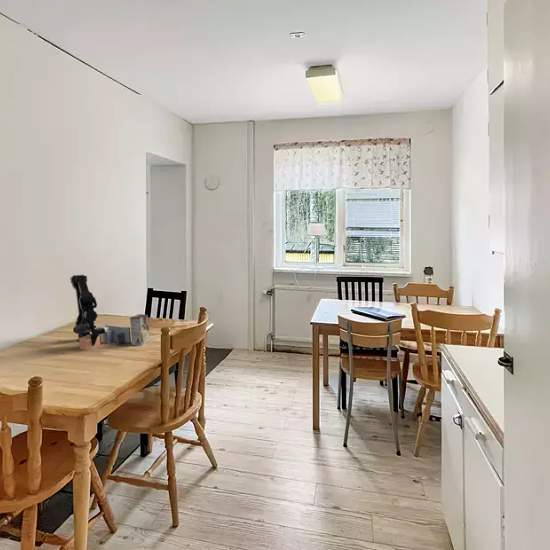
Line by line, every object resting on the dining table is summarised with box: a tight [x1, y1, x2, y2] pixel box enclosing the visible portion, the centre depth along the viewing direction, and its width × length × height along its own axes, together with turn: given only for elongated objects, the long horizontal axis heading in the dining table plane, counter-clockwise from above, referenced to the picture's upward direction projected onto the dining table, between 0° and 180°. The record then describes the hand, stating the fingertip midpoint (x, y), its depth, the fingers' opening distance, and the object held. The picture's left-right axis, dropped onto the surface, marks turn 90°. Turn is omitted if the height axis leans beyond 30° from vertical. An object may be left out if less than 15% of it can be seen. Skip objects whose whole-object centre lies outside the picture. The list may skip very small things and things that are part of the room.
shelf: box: [97, 324, 132, 344], centre depth 240 cm, size 19×7×9 cm, turn 65°
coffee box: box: [129, 313, 151, 347], centre depth 237 cm, size 9×6×16 cm
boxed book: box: [78, 335, 101, 351], centre depth 231 cm, size 5×10×6 cm, turn 155°
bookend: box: [115, 332, 130, 346], centre depth 236 cm, size 5×5×6 cm
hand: (90, 345), depth 231 cm, fingers closed on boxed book, 4 cm apart
